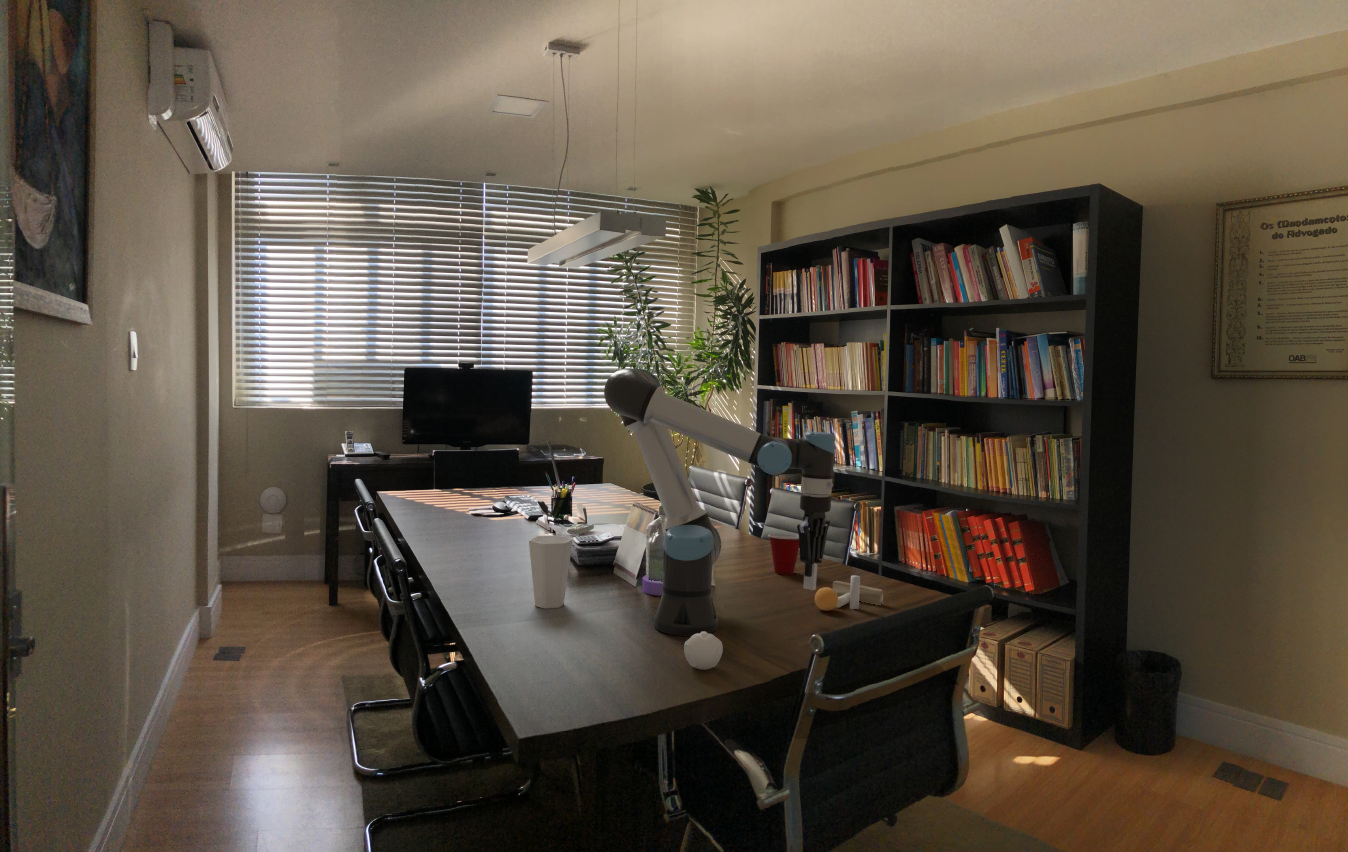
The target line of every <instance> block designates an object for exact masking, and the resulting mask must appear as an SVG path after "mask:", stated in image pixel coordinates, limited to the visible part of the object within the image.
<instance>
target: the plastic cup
mask: <svg viewBox="0 0 1348 852" xmlns="http://www.w3.org/2000/svg"><path fill="white" fill-rule="evenodd" d="M767 536H768V538H769V544H770V547H771V557H772V562H773V569H774V573H776V574H778V575H782V576H783V575H785V576H787V575H789V576H790V575H793V574H794V571H795V569H796V563H797V559H798V554H799V551H800V549H799V534H794V533H793V534H792V533H791V534H790V533H769V534H768V535H767Z"/></svg>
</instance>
